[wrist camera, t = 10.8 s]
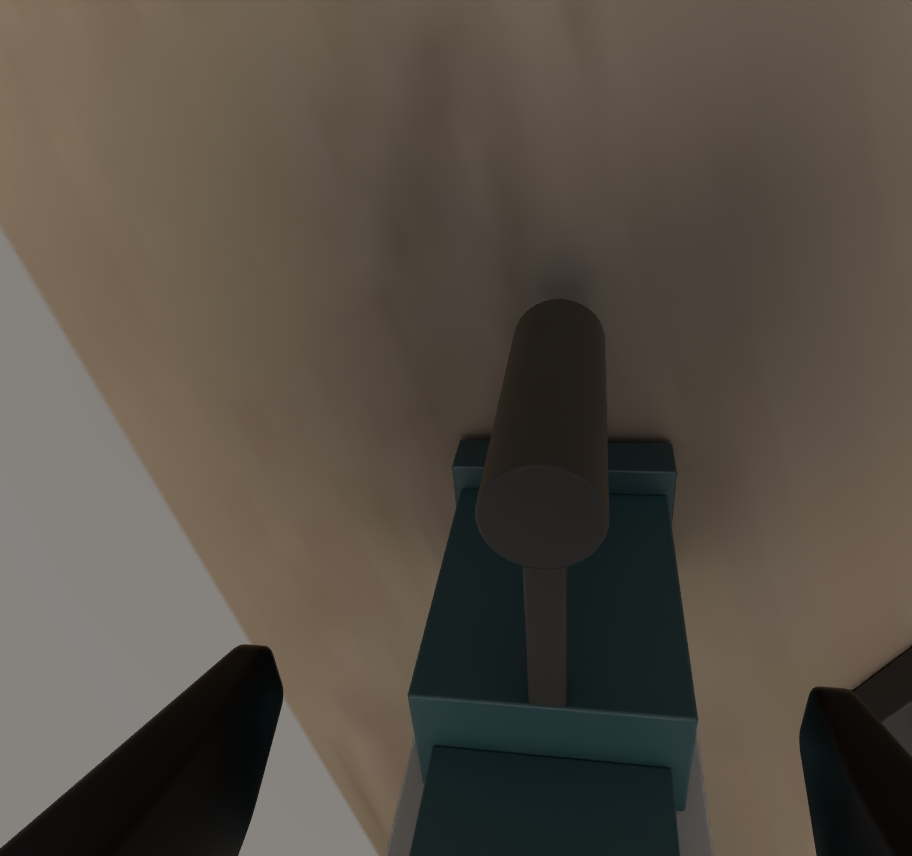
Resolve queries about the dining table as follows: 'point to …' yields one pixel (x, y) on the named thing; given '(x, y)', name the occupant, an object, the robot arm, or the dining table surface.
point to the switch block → (892, 698)
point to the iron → (555, 632)
